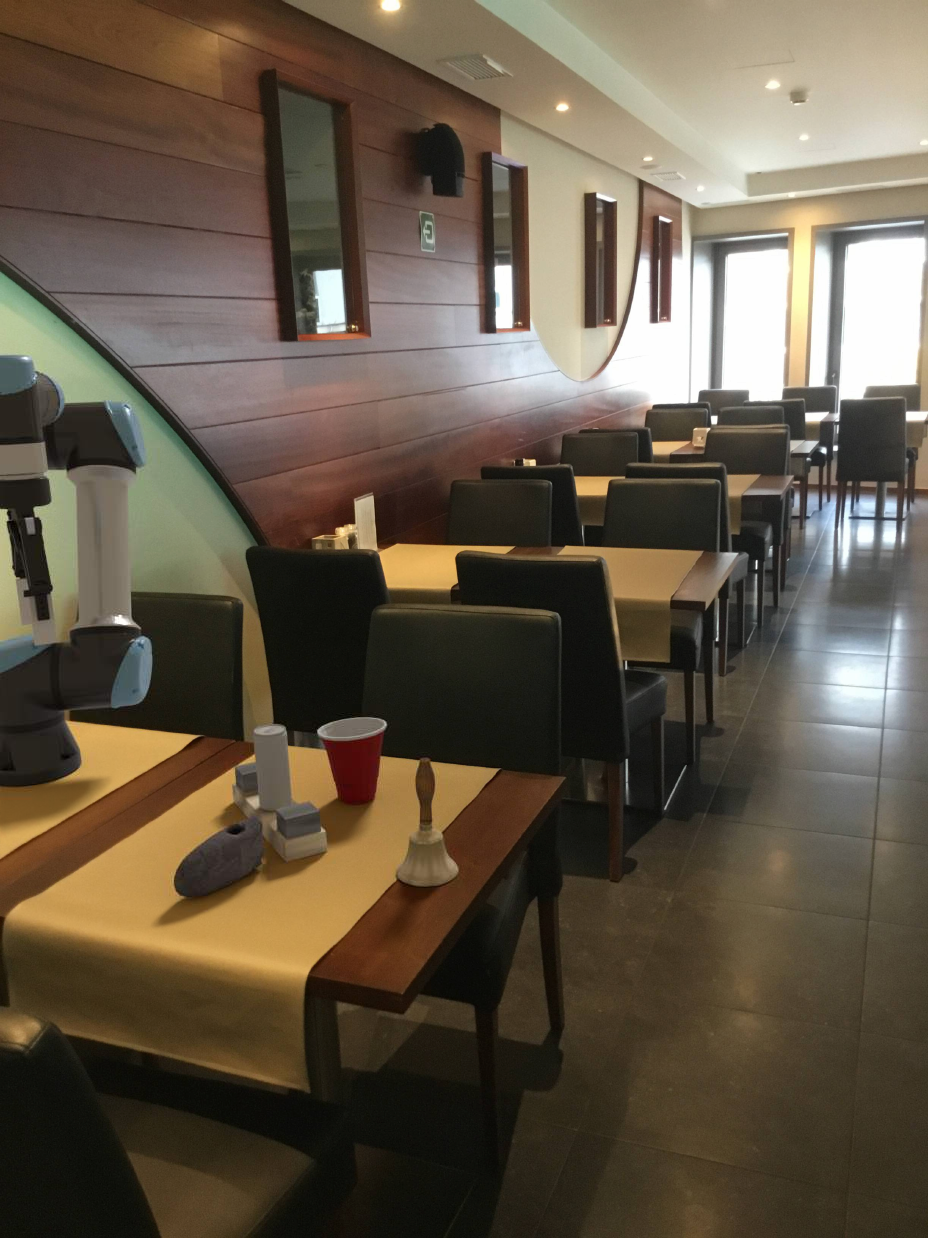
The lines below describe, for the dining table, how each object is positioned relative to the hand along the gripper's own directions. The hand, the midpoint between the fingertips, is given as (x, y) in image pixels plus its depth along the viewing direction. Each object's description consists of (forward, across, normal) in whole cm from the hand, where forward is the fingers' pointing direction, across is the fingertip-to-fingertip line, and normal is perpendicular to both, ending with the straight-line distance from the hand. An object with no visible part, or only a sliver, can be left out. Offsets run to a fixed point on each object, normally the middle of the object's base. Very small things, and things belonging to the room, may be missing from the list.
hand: (39, 633), depth 137 cm
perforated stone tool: (+32, +23, +16) cm, 42 cm away
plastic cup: (+32, +7, +42) cm, 53 cm away
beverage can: (+29, +10, +28) cm, 41 cm away
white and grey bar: (+32, +10, +28) cm, 43 cm away
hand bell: (+32, +35, +40) cm, 62 cm away
